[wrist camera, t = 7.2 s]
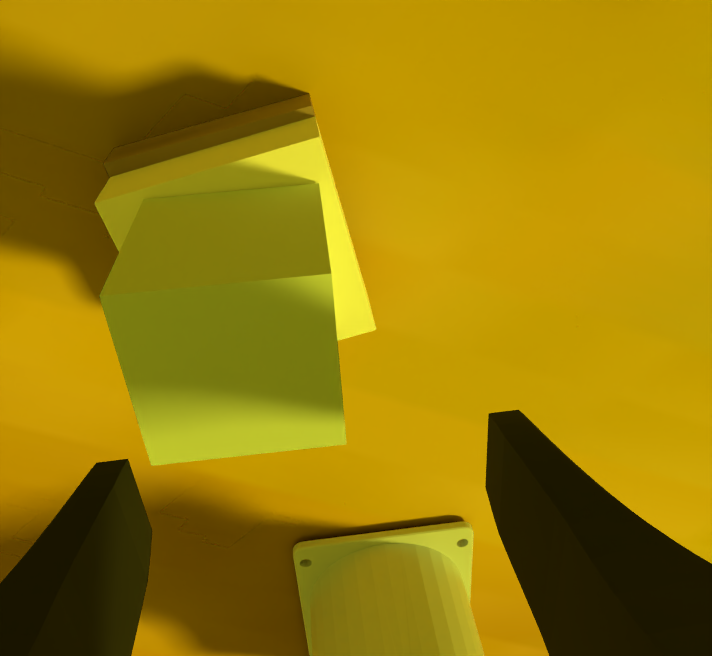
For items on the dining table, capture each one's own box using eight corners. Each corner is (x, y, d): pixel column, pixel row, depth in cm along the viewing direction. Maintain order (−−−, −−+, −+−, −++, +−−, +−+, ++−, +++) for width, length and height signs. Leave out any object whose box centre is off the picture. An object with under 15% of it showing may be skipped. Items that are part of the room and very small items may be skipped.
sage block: (332, 329, 20) (346, 444, 16) (178, 344, 20) (151, 465, 15) (318, 183, 17) (331, 273, 13) (143, 198, 17) (99, 296, 13)
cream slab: (368, 297, 22) (376, 329, 20) (192, 346, 22) (185, 383, 20) (315, 116, 18) (319, 136, 17) (110, 177, 19) (94, 203, 17)
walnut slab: (356, 263, 23) (362, 290, 21) (190, 307, 23) (183, 338, 22) (308, 89, 20) (311, 105, 18) (117, 142, 20) (102, 163, 19)
